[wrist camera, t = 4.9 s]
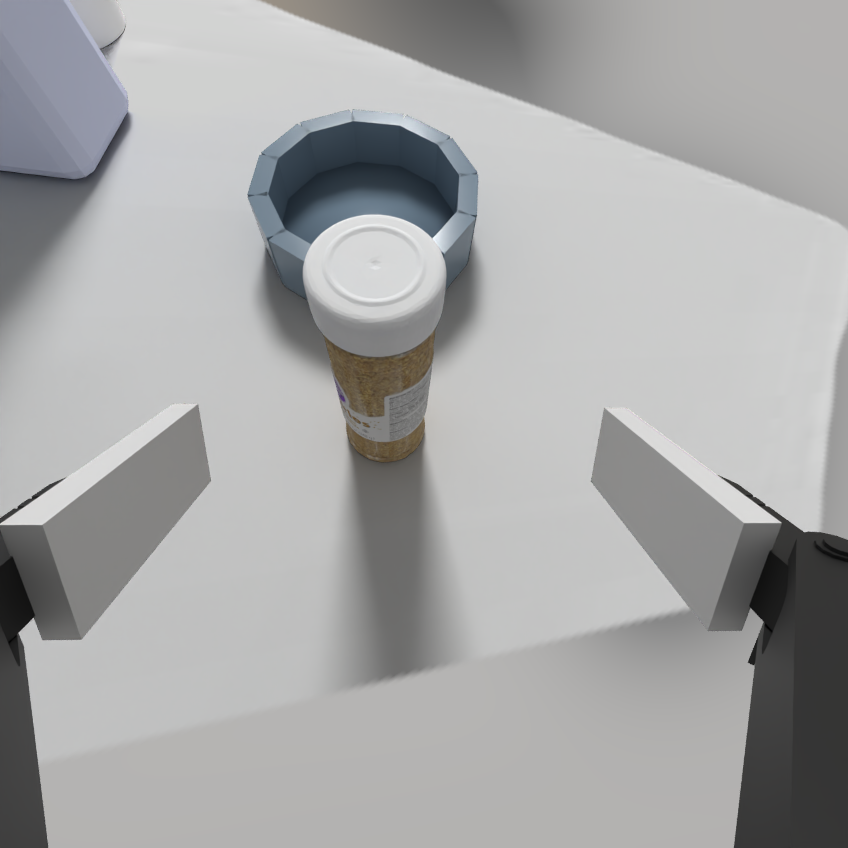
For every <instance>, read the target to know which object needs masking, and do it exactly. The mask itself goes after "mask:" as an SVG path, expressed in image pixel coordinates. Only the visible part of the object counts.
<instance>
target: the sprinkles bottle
mask: <svg viewBox="0 0 848 848" xmlns="http://www.w3.org/2000/svg"><path fill="white" fill-rule="evenodd" d="M303 282H304V287H305V292H306V296H307V299H308V303H309V306H310V310H311V313H312V316H313V319H314V321H315V323H316V325H317V327H318V328H319V330H320V331H321V332H322V333H323V335H324V337H325V342H326V345H327V350H328V353H329V358H330V360H331V369H332V373H333V376H334V380H335V383H336V387H337V391H338V395H339V399H340V404H341V408H342V411H343V415H344V417H345V419H346V430H347V435H348V437H349V440H350V443H351V444H352V445H353V447H354V448H355V449H356V450H357V451H358V452H359V453H360V454H362V455H363V456H365V457H366V458H368V459H370V460H374V461H378V462H392V461H397V460H400V459H403V458H405V457H407V456H408V455H409V454H411V453H412V452H413V451H414V450H415V449H416V448H417V447H418V446H419V444H420V442H421V440H422V438H423V435H424V428H425V422H424V415H425V412H426V408H427V401H428V394H429V386H430V379H431V371H432V363H433V355H434V348H433V343H434V337H435V329H436V326H437V324H438V322H439V320H440V317H441V315H442V310H443V304H444V297H445V288H446V265H445V260H444V258H443V255H442V253H441V251H440V249H439V247H438V245H437V244H436V243H435V241H434V240H433V239H432V238H431V237H430V236H429V235H428V234H427V233H426V232H425V231H423V230H422V229H421V228H419V227H418V226H416V225H414V224H412V223H410V222H408V221H405V220H403V219H400V218H396V217H392V216H387V215H361V216H356V217H352V218H348V219H345V220H343V221H340V222H338V223H336V224H334V225H333V226H331V227H329V228H328V229H326V230H325V231H324V232H323V233H321V234H320V235H319V236H318V237H317V238H316V240H315V241H314V242H313V243H312V245H311V246H310V248H309V250H308V252H307V254H306V257H305V261H304V265H303Z"/></svg>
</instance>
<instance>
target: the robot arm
mask: <svg viewBox="0 0 848 848" xmlns="http://www.w3.org/2000/svg"><path fill="white" fill-rule="evenodd" d="M210 481H211V478H210V472H209V466H208V460H207V454H206V448H205V442H204V436H203V431H202V425H201V419H200V413H199V407H198V404H172V405H171V406H169V407H168V408H166V409H165V410H163V411H162V412H161V413H159V414H158V415H156V416H155V417H153V418H152V419H150V420H149V421H148V422H146V423H145V424H143V425H142V426H140V427H139V428H137V429H136V430H135V431H133V432H132V433H130V434H129V435H127V436H126V437H124V438H123V439H122V440H120V441H119V442H117V443H116V444H114V445H113V446H112V447H110V448H109V449H107V450H106V451H104V452H103V453H101V454H100V455H99V456H97V457H96V458H94V459H93V460H91V461H90V462H88V463H87V464H86V465H84V466H83V467H81V468H80V469H78V470H77V471H75V472H74V473H73V474H71V475H70V476H68V477H66V478H64V479H61V480H59V481H57V482H54V483H52V484H50V485H48V486H47V487H45V488H44V489H42V490H41V491H39V492H38V493H36V494H35V495H33V496H32V499H28V500H26V501H25V502H23V503H22V504H20V505H19V506H18V508H17V509H13V510H11V511H10V512H8V513H7V514H6V515H4V516H3V517H1V518H0V848H48V842H47V833H46V825H45V817H44V808H43V800H42V792H41V784H40V776H39V767H38V759H37V751H36V743H35V735H34V726H33V718H32V710H31V702H30V694H29V685H28V677H27V669H26V661H25V653H24V646H23V643H22V641H21V639H20V636H19V634H18V633H19V632H20V631H21V630H22V629H23V628H24V627H25V626H26V625H27V624H28V623H29V622H30V620H31V619H32V618H33V617H34V619H35V622H36V625H37V627H38V630H39V632H40V635H41V638H42V640H82V638H83V637H84V636H85V635H86V633H87V632H88V631H89V630H90V629H91V627H92V626H93V625H94V624H95V622H96V621H97V620H98V619H99V617H100V616H101V615H102V614H103V613H104V611H105V610H106V609H107V608H108V606H109V605H110V604H111V603H112V602H113V600H114V599H115V598H116V597H117V595H118V594H119V593H120V592H121V591H122V589H123V588H124V587H125V586H126V584H127V583H128V582H129V581H130V579H131V578H132V577H133V576H134V575H135V573H136V572H137V571H138V570H139V568H140V567H141V566H142V565H143V564H144V562H145V561H146V560H147V559H148V557H149V556H150V555H151V554H152V552H153V551H154V550H155V549H156V548H157V546H158V545H159V544H160V543H161V541H162V540H163V539H164V538H165V537H166V535H167V534H168V533H169V532H170V530H171V529H172V528H173V527H174V526H175V524H176V523H177V522H178V521H179V519H180V518H181V517H182V516H183V514H184V513H185V512H186V511H187V510H188V508H189V507H190V506H191V505H192V503H193V502H194V501H195V500H196V499H197V497H198V496H199V495H200V494H201V492H202V491H203V490H204V489H205V487H206V486H207V485H208V484H209V483H210ZM591 482H592V483H593V485H594V486H595V487H596V489H597V490H598V491H599V492H600V494H601V495H602V496H603V498H604V499H605V500H606V501H607V503H608V504H609V505H610V507H611V508H612V509H613V510H614V512H615V513H616V514H617V515H618V517H619V518H620V519H621V521H622V522H623V523H624V524H625V526H626V527H627V528H628V530H629V531H630V532H631V533H632V535H633V536H634V537H635V539H636V540H637V541H638V542H639V544H640V545H641V546H642V548H643V549H644V550H645V551H646V553H647V554H648V555H649V556H650V558H651V559H652V560H653V562H654V563H655V564H656V565H657V567H658V568H659V569H660V571H661V572H662V573H663V574H664V576H665V577H666V578H667V580H668V581H669V582H670V583H671V585H672V586H673V587H674V589H675V590H676V591H677V592H678V594H679V595H680V596H681V597H682V599H683V600H684V601H685V603H686V604H687V605H688V606H689V608H690V609H691V610H692V612H693V613H694V614H695V615H696V617H697V618H698V619H699V621H700V622H701V623H702V624H703V626H704V627H705V628H706V630H707V631H741V630H742V629H743V626H744V623H745V621H746V618H747V616H748V613H749V610H750V608H751V609H752V610H753V611H754V612H755V613H756V614H757V615H758V616H759V617H760V618H761V619H762V620H763V621H764V623H763V625H762V628H761V630H760V633H759V636H758V638H757V640H756V643H755V646H754V648H753V651H752V653H751V656H750V658H749V661H748V663H750V664H752V665H755V669H754V678H753V686H752V695H751V704H750V712H749V721H748V731H747V739H746V747H745V756H744V765H743V773H742V782H741V791H740V800H739V808H738V818H737V826H736V835H735V844H734V848H848V540H846V539H843V538H841V537H838V536H834V535H830V534H826V533H821V532H805V533H804V532H803V531H802V530H800V529H799V528H797V527H796V526H795V525H793V524H792V523H791V522H789V521H788V520H786V519H785V518H784V517H782V516H781V515H780V514H778V513H777V512H775V511H774V510H773V509H771V508H770V507H768V506H765V504H764V503H763V502H762V501H760V500H759V499H757V498H756V497H753V495H752V494H751V493H749V492H748V491H746V490H745V489H744V488H742V487H741V486H739V485H738V484H736V483H734V482H732V481H730V480H728V479H725V478H723V477H721V476H719V475H717V474H715V473H714V472H713V471H711V470H710V469H709V468H707V467H706V466H705V465H703V464H702V463H701V462H699V461H698V460H696V459H695V458H694V457H692V456H691V455H690V454H688V453H687V452H686V451H684V450H683V449H682V448H680V447H679V446H678V445H676V444H675V443H674V442H672V441H671V440H670V439H668V438H667V437H665V436H664V435H663V434H661V433H660V432H659V431H657V430H656V429H655V428H653V427H652V426H651V425H649V424H648V423H647V422H645V421H644V420H643V419H641V418H640V417H639V416H637V415H636V414H635V413H633V412H632V411H630V410H629V409H628V408H604V412H603V417H602V423H601V428H600V434H599V439H598V445H597V450H596V456H595V461H594V467H593V472H592V478H591Z"/></svg>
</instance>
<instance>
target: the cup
mask: <svg viewBox="0 0 848 848" xmlns="http://www.w3.org/2000/svg"><path fill="white" fill-rule="evenodd" d="M69 1H70V3H71V4H72V6H73V7H74V9H75V11H76V12H77V14H78V15H79V17H80V18H81V20H82V22H83V23H84V25H85V26H86V28H87V30H88V31H89V33H90V34H91V36H92V37H93V39H94V41H95V42H96V44H97V45H98V47H99V49H101V48H103V47H105V46H107V45H109V44H110V43H112V42H113V41H115V40H116V39H117V38H118V37H119V36H120V35H121V34H122V33H123V31H124V29H125V26H126V19H125V16H124V14H123V12H122V10H121V8H120V5H119V3H118V1H117V0H69Z"/></svg>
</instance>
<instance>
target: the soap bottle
mask: <svg viewBox="0 0 848 848" xmlns="http://www.w3.org/2000/svg"><path fill="white" fill-rule="evenodd" d="M127 112H128V96H127V91H126V90H125V88H124V87H123V85H122V83H121V82H120V80H119V79H118V77H117V75H116V74H115V72H114V71H113V69H112V68H111V66H110V64H109V63H108V61H107V60H106V58H105V56H104V55H103V53H102V52H101V50H100V49H99V47H98V45H97V44H96V42H95V41H94V39H93V37H92V36H91V34H90V33H89V31H88V30H87V28H86V26H85V25H84V23H83V22H82V20H81V18H80V17H79V15H78V14H77V12H76V11H75V9H74V7H73V6H72V4H71V3H70V1H69V0H0V170H1V171H10V172H18V173H26V174H35V175H43V176H51V177H59V178H68V179H78V178H83V177H86V176H88V175H89V174H91V173H92V172H93V171H94V170H95V169H96V167H97V165H98V163H99V161H100V160H101V158H102V156H103V154H104V153H105V151H106V149H107V147H108V146H109V144H110V142H111V140H112V139H113V137H114V135H115V133H116V131H117V130H118V128H119V126H120V124H121V123H122V121H123V119H124V117H125V116H126V114H127Z"/></svg>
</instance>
